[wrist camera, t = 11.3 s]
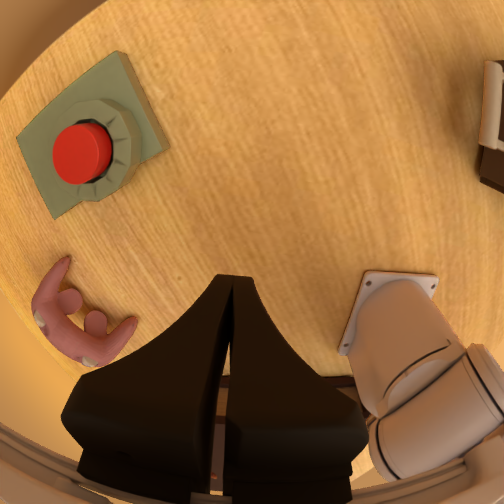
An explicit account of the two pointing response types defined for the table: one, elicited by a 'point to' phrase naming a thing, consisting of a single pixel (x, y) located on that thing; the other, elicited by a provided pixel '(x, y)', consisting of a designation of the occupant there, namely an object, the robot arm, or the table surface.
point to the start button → (81, 153)
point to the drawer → (493, 122)
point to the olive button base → (105, 115)
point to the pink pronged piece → (66, 332)
